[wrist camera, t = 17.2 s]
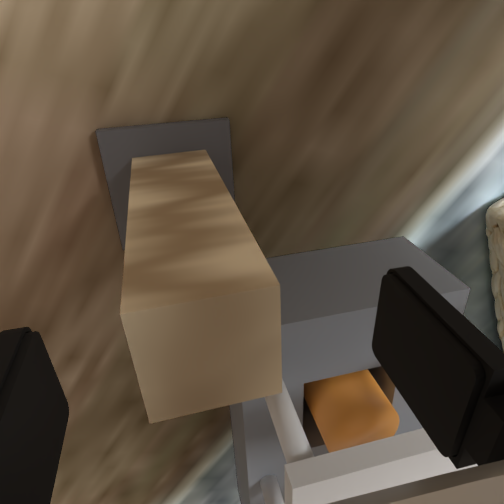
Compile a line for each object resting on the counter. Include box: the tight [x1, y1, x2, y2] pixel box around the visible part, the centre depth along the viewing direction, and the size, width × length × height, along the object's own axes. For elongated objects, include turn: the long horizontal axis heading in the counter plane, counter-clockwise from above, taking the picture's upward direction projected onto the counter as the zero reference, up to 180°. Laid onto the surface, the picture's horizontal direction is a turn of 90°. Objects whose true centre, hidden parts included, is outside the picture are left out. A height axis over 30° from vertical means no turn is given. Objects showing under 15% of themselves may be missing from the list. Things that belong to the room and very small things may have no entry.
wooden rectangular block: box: [120, 150, 282, 424], centre depth 17 cm, size 4×4×14 cm
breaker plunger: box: [304, 369, 399, 453], centre depth 28 cm, size 5×5×8 cm
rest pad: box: [96, 117, 235, 250], centre depth 23 cm, size 7×7×1 cm
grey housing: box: [230, 236, 478, 504], centre depth 28 cm, size 26×14×14 cm, turn 3°
